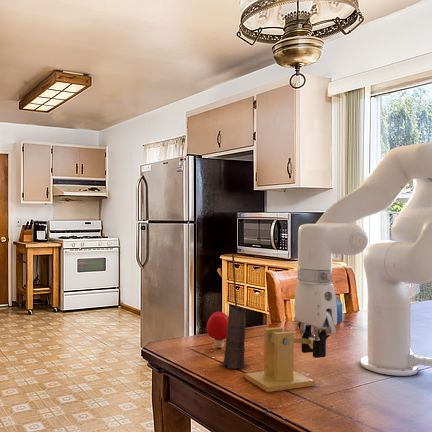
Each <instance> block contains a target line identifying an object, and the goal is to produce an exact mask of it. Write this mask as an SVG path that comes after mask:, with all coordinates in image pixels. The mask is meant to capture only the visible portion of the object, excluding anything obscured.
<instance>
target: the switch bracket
mask: <svg viewBox="0 0 432 432" xmlns="http://www.w3.org/2000/svg"><path fill="white" fill-rule="evenodd" d="M263 330H264V331H263V332H264V334H263V337H264V342H263V347H264V349H263V350H264V351H263V355H264V356H263V360H264V361H263V365H264V366H263V370H262V371H255V372H247V373H244V376H245V377H244V379H245V380H247V381H248V382H250V383H251V384H253V385H255V386H257V387H258V388H259V389H262V390H263V391H264V392H266V393H272V392H279V391H285V390H286V391H287V390H293V389H299V388H300V389H301V388H307V387H313V386H314V380H313V379H311V378H309V377H307V376H305V375H303V374H301V373H300V372H297V371H295V370H294V367H295V366H294V362H295V361H294V353H295V351H294V349H295V348H294V347H295V346H294V337H295V332H293V331H291V330H290V331H284V329H283V327H278V326H277V327H269V328H264V329H263ZM272 332H279V333H275V344H274V343H272V342H270V339H271V333H272Z"/></svg>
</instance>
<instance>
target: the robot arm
mask: <svg viewBox="0 0 432 432" xmlns="http://www.w3.org/2000/svg"><path fill="white" fill-rule="evenodd" d="M411 181H412V182H413V183H412V184H413V191H412V194H411V195H410V197H409V198H408V201H406V203H405V205H404V206H403V207H402V209H401V210H400V212H399V213H398V214H397V216H395V217H396V218H395V219H394V220H393V222H392V224H391V227H390V236H391V238H392V239H393V240H381V241H380V240H379V241H376V242H374V243H372V244H370V245H369V246H368V244H369V234H367V231H366V230H365V229H364V228H363V227H361V226H360V225H358V224H355V223H356V222H358V221H359V220H361V219H363V218H367V217H370V216H372V215H376V214H378V213H381V212H383V211H385V210H387V209H389V208H391V206H392V205H393V204H394V203H395V201H396V200H397V199H398V198H399V196H400V195H401V193H402V192H403V191H404V190H405V188H406V187H407V186H408V185H409V183H410V182H411ZM363 251H364V253H363V259H362V261H363V269H364V273H365V278H366V284H367V353H366V354H367V355H366V356H364V357H362V358H361V359H360V366H362V368H364V369H366V370H368V371H369V372H370V371H371V372H373V373H378V374H381V375H387V376H397V377H407V376H408V377H409V376H414V375H416V374H417V373H418V369H419V367H418V366H424V367H432V357H426V355H416V354H414V353H413V351H412V350H411V349H412V348H411V315H412V313H411V312H412V311H411V308H412V301H411V299H412V298H411V293H410V291H409V288H408V286H407V284H412V285H413V284H414V285H426V284H429V283H431V282H432V141H427V142H419V143H413V144H406V145H401V146H396V147H394V148H391V149H389V150H388V151H387V152H386V153H385V155H383V157H382V158H381V159H380V161H379V162H378V163H377V164H376V165H375V167H374V168H373V169H372V171H371V172H370V173H369V174H368V175H367V177H366V178H365V179H364V180H363V182H362V183H361V184H360V185H359V186H357V188H355V189H353V190H352V191H350V192H349V193H347V194H345V196H343V197H341V198H340V199H338V200H337V201H336V202H334V203H333V204H332V205H330V206H329V207H328V208H327V209H326V210H325V211H324V212H323V214H321V216H320V217H319V219H318V220H317V221H316V222H315V223H303V224H301V225H299V227H298V231H297V280H296V286H295V291H294V305H293V308H294V310H293V311H294V316H293V321H294V322H295V323H296V325H297V326H298V329H299V334H300V336H301V338H304V339H308V338H309V337H310V336H312V335H315V340H313V349H312V348H310V347H309V346H308V344H303V343H301V353H302V354H309V353H312V358H313V359H319V358H320V359H321V358H325V357H326V356H327V355H326V354H327V341H328V340H329V337H330V336H331V335H333V334H335V333H336V332H337V329H336V327H337V325H338V322H337V303H336V297H337V295H336V290H335V285H334V284H333V283H332V279H333V275H332V273H333V271H332V269H333V267H332V266H333V254H335V255H341V256H355V255H358V254H360V253H362V252H363ZM406 283H407V284H406ZM320 330H321V331H320ZM313 332H314V334H313Z"/></svg>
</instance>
